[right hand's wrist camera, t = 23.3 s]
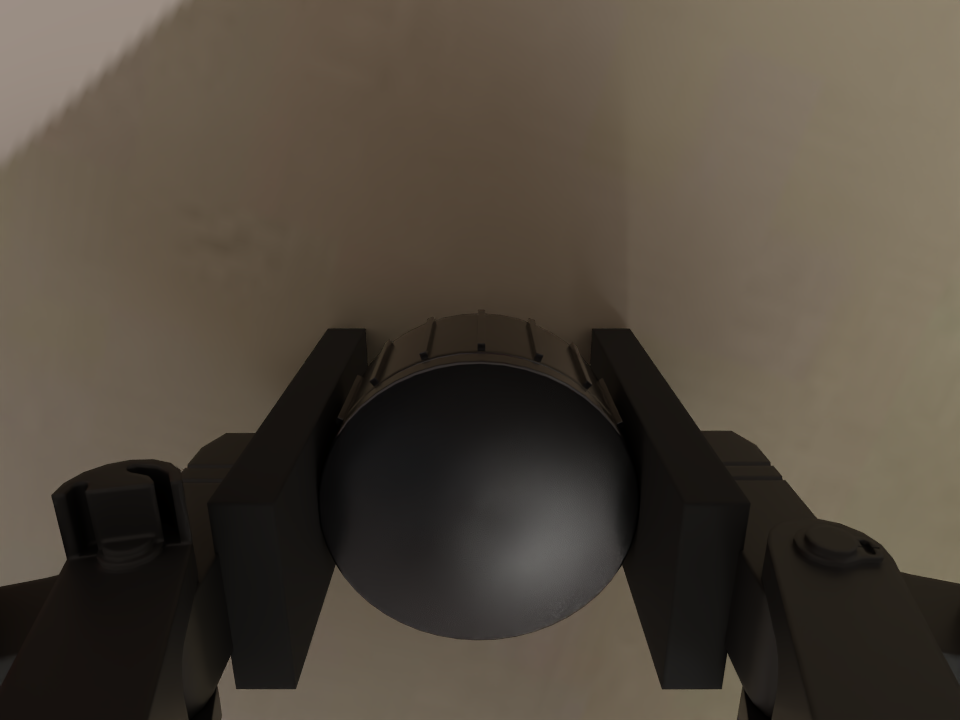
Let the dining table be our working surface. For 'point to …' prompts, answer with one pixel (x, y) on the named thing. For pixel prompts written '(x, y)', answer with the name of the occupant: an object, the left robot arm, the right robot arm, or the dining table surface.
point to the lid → (479, 480)
